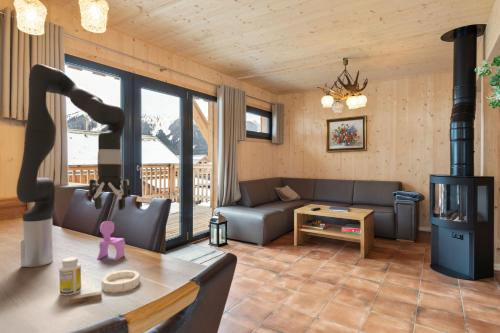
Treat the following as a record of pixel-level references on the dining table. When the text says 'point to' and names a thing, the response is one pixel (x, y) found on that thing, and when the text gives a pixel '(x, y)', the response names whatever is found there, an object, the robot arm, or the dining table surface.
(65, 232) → the dining table surface
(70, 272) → the supplement bottle
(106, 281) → the jar dish
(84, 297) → the walnut stick
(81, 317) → the dining table surface
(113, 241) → the toy chair
